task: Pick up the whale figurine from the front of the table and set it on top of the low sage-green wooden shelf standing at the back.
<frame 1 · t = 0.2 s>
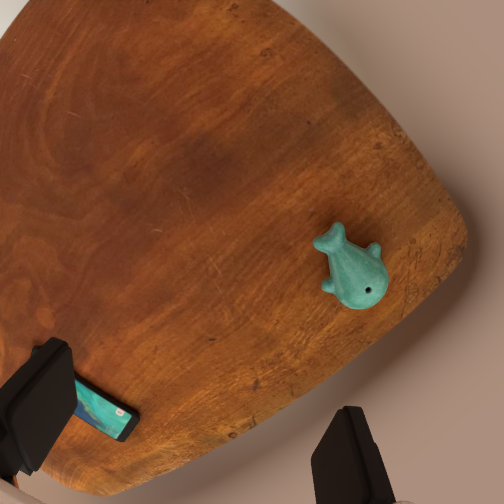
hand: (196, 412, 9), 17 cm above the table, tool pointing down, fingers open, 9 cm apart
smartphone: (80, 395, 31), on the table
whale figurine: (346, 260, 26), on the table
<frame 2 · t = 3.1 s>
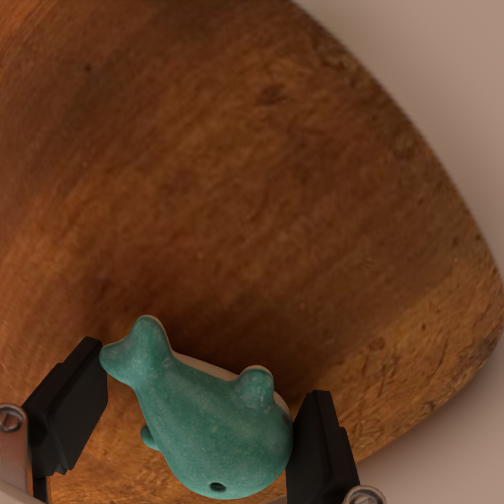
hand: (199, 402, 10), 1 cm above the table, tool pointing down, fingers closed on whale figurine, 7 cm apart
whale figurine: (204, 384, 11), on the table, touching gripper
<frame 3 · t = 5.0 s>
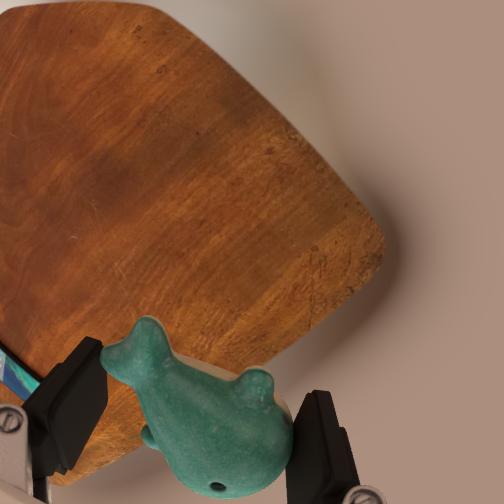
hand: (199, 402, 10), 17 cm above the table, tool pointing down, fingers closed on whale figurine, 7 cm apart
smartphone: (28, 384, 32), on the table
whale figurine: (204, 384, 11), point 16 cm above the table, touching gripper
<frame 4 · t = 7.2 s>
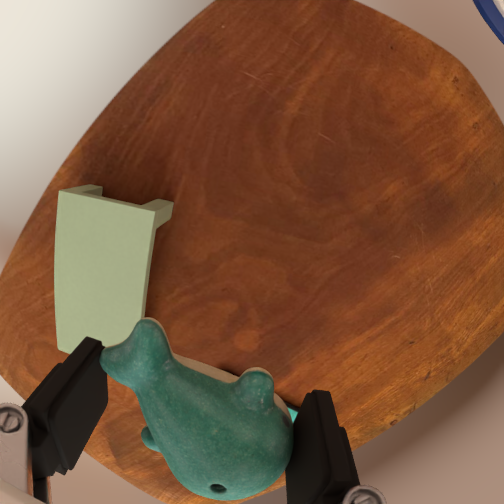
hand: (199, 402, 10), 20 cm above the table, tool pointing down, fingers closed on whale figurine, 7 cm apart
rack: (119, 271, 30), on the table
whale figurine: (204, 386, 11), point 19 cm above the table, touching gripper
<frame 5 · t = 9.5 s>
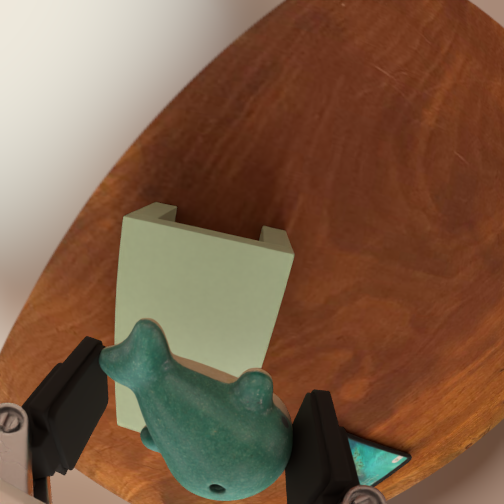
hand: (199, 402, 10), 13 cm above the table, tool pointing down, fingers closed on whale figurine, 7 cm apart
smartphone: (349, 457, 28), on the table
rack: (199, 320, 23), on the table
whale figurine: (204, 386, 11), point 12 cm above the table, touching gripper
when the fingers open (6 cm above the table, at t = 11.5 s): whale figurine stays where it is, resting on rack.
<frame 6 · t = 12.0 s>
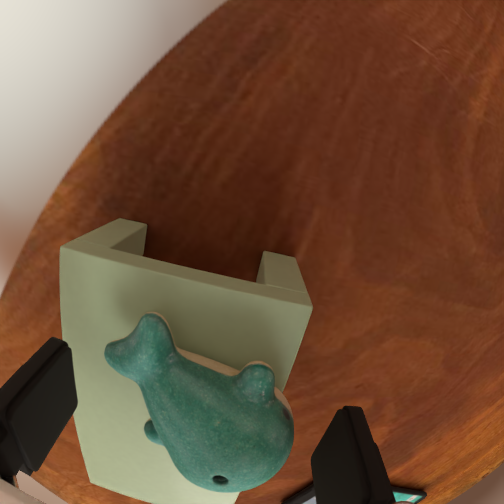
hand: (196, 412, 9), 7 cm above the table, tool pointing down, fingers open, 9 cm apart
smartphone: (359, 499, 22), on the table
rack: (182, 368, 17), on the table
whale figurine: (206, 380, 11), point 5 cm above the table, touching rack
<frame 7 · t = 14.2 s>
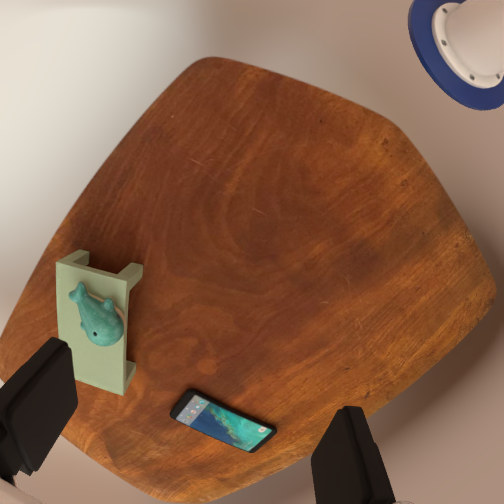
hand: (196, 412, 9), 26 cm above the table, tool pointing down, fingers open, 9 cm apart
smartphone: (223, 421, 42), on the table
rack: (106, 314, 38), on the table
whale figurine: (101, 307, 32), point 5 cm above the table, touching rack
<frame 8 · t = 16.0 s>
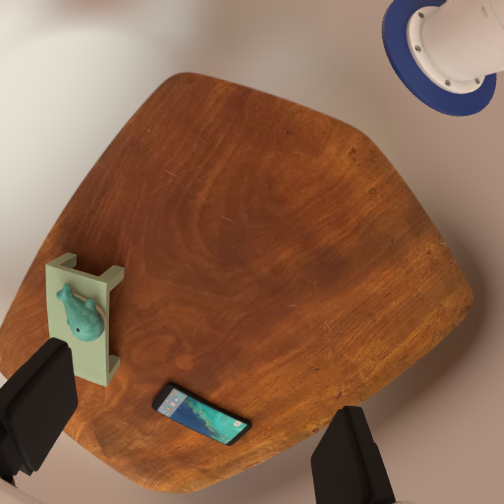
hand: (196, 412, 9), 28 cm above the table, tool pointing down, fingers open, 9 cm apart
smartphone: (201, 414, 45), on the table
rack: (93, 312, 40), on the table
whale figurine: (85, 306, 34), point 5 cm above the table, touching rack
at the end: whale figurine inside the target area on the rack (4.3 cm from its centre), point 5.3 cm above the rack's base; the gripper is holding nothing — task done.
